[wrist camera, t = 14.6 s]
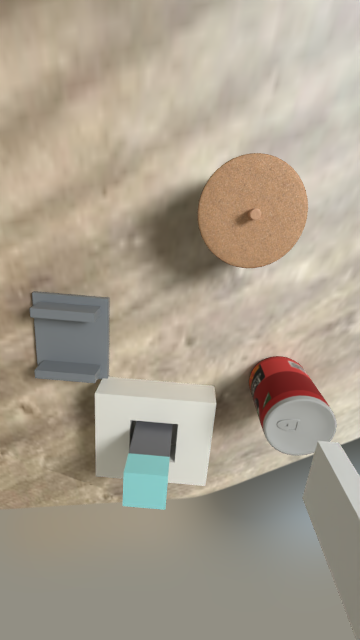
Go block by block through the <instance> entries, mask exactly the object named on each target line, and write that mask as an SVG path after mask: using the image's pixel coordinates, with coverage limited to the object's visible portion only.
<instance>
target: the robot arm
mask: <svg viewBox="0 0 360 640" xmlns="http://www.w3.org/2000/svg"><path fill="white" fill-rule="evenodd" d="M303 500H304V503H305V506H306V508H307V511H308V514H309V516H310V519H311V522H312V524H313V527H314V530H315V532H316V535H317V537H318V540H319V543H320V545H321V548H322V551H323V553H324V556H325V559H326V561H327V564H328V567H329V569H330V572H331V575H332V577H333V580H334V583H335V585H336V587H337V590H338V593H339V596H340V598H341V600H342V604H343V606H344V609H345V612H346V614H347V617H348V620H349V622H350V625H351V627H352V630H353V633H354V635H355V638H356V640H360V476H359V475H358V473H357V471H356V470H355V468H354V467H353V465H352V463H351V462H350V460H349V458H348V457H347V455H346V454H345V452H344V450H343V449H342V447H341V445H340V444H339V443H338V442H327V441H318V442H317V446H316V449H315V453H314V457H313V461H312V464H311V468H310V472H309V476H308V479H307V483H306V487H305V491H304V494H303Z"/></svg>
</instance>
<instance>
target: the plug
mask: <svg viewBox="0 0 360 640" xmlns="http://www.w3.org/2000/svg"><path fill="white" fill-rule="evenodd" d="M172 425H173V424H170V423H158V422H146V421H137V422H136V425H135V429H134V433H133V437H132V441H131V445H130V449H129V453H128V457H127V461H126V465H125V469H124V477H123V506H130V507H142V508H153V509H164V510H165V507H166V496H167V484H168V472H169V461H170V449H171V437H172Z"/></svg>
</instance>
